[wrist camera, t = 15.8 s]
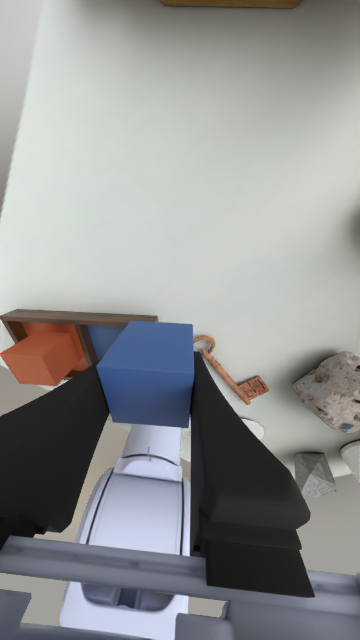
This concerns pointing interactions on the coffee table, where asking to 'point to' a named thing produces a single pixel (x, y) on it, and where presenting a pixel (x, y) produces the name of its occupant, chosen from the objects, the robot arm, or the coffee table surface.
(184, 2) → the tap handle
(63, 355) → the terracotta block
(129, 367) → the blue block
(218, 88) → the coffee table surface
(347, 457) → the mug
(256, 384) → the key
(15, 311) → the sorter
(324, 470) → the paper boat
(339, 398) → the stone
